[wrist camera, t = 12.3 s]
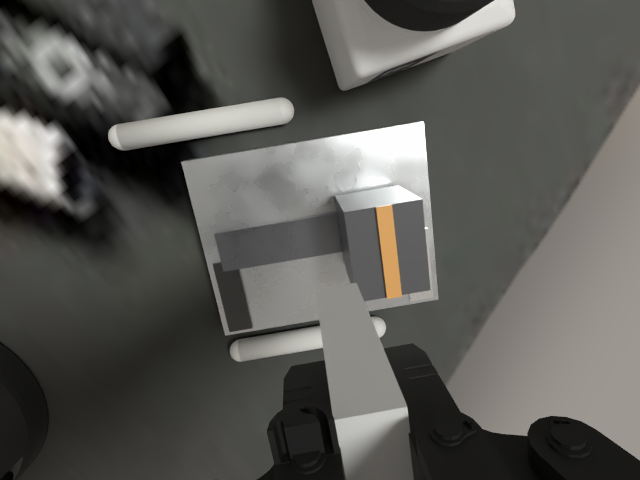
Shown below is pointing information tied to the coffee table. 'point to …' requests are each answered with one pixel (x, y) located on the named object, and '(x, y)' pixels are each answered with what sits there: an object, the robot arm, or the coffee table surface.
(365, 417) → the robot arm
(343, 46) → the container
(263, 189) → the panel
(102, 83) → the coffee table surface
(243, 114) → the cord near
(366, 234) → the toggle
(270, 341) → the rod
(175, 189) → the coffee table surface
